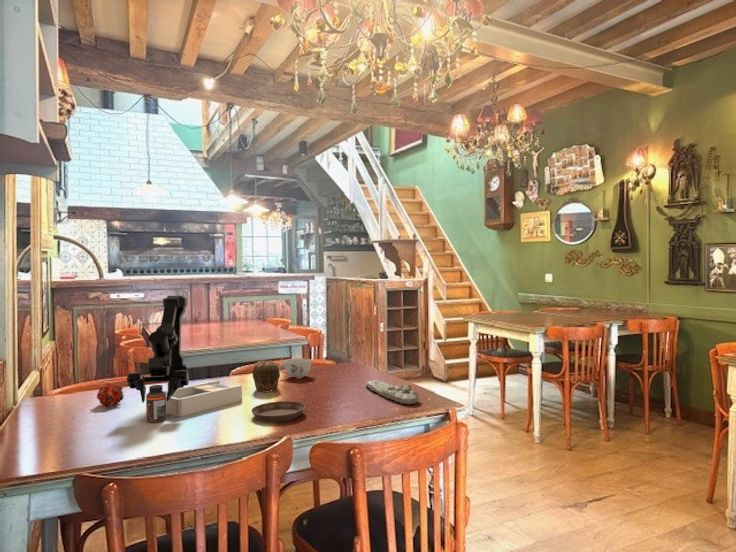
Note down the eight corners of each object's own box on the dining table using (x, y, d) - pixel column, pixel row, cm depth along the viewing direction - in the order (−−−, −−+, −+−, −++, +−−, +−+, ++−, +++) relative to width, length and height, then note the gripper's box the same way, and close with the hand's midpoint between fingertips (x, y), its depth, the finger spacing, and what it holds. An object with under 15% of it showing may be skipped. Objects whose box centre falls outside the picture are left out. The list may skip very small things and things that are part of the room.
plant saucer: (243, 423, 160) (243, 414, 159) (262, 408, 177) (262, 400, 177) (296, 425, 157) (296, 415, 157) (310, 410, 175) (310, 401, 175)
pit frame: (154, 409, 176) (154, 393, 176) (217, 394, 197) (217, 380, 197) (178, 417, 167) (178, 399, 167) (242, 400, 188) (241, 385, 188)
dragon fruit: (114, 404, 190) (111, 417, 179) (94, 394, 187) (89, 406, 176) (128, 386, 191) (126, 398, 180) (108, 375, 188) (104, 386, 177)
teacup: (309, 373, 236) (309, 356, 236) (314, 379, 224) (314, 361, 224) (277, 376, 232) (277, 358, 232) (280, 381, 220) (280, 363, 220)
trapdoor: (192, 395, 187) (192, 387, 187) (213, 391, 194) (213, 383, 194) (211, 400, 179) (211, 391, 179) (232, 395, 186) (232, 387, 186)
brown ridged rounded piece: (247, 392, 200) (247, 362, 200) (260, 386, 211) (259, 358, 211) (273, 393, 197) (272, 363, 197) (284, 387, 208) (283, 358, 208)
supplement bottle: (143, 420, 164) (143, 386, 164) (161, 416, 168) (161, 383, 168) (150, 424, 159) (150, 389, 159) (169, 420, 164) (168, 385, 164)
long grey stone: (381, 388, 211) (360, 392, 207) (380, 376, 211) (359, 379, 207) (426, 402, 180) (402, 408, 175) (425, 388, 180) (401, 393, 175)
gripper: (127, 348, 165) (118, 389, 155) (187, 346, 169) (182, 386, 159) (134, 368, 173) (126, 408, 163) (190, 365, 177) (186, 404, 166)
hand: (155, 401), depth 162 cm, fingers open, 7 cm apart
